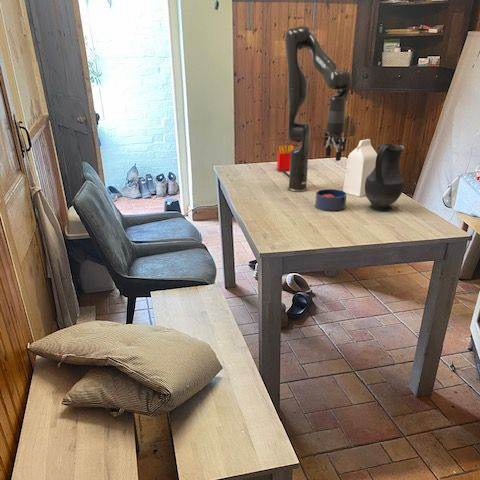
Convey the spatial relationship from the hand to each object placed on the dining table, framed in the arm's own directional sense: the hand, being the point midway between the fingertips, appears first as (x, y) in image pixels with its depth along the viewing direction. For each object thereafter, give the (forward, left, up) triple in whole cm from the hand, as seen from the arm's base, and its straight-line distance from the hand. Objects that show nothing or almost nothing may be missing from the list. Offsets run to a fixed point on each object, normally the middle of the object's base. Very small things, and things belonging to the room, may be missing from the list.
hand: (332, 158), depth 228 cm
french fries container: (-68, -24, -23) cm, 75 cm away
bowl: (+1, +1, -22) cm, 22 cm away
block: (0, -1, -22) cm, 22 cm away
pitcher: (+3, +23, -23) cm, 33 cm away
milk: (-25, +16, -23) cm, 38 cm away
